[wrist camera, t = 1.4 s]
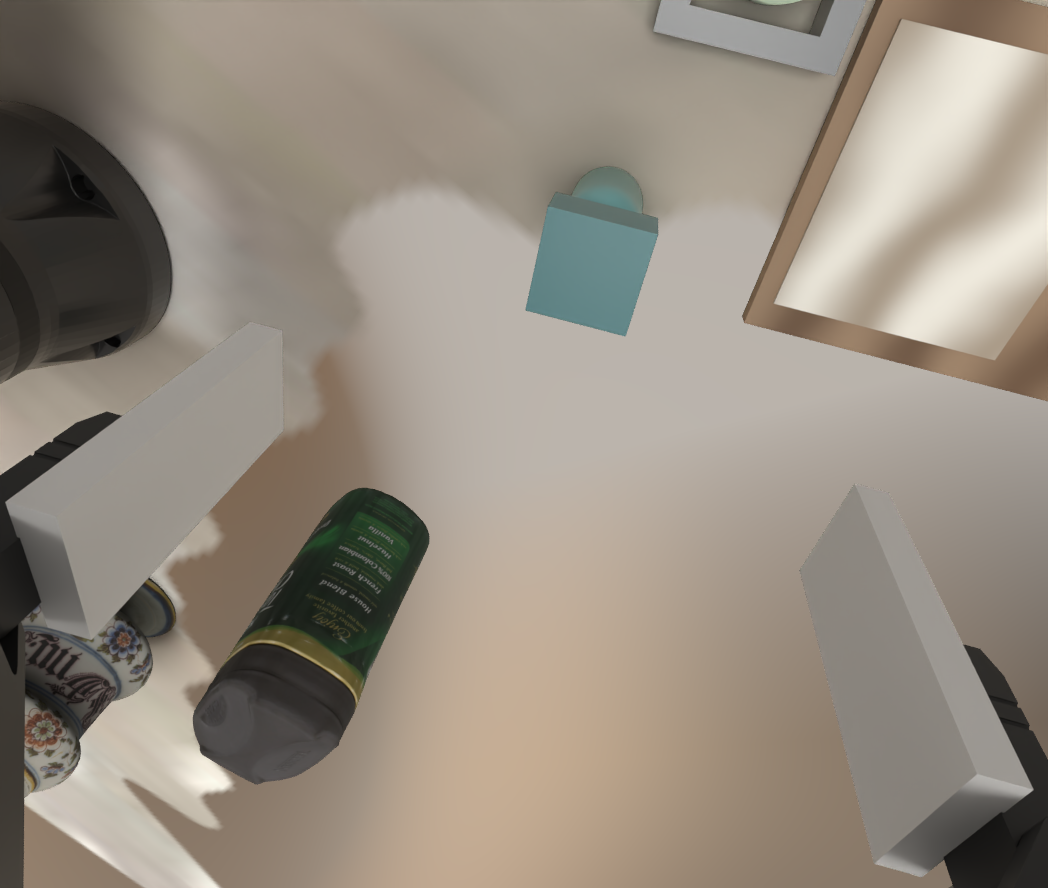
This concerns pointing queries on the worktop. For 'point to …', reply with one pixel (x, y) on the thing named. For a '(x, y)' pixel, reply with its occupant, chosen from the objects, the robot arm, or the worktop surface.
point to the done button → (774, 2)
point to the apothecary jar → (83, 680)
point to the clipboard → (927, 199)
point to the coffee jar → (312, 642)
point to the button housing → (767, 33)
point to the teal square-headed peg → (594, 252)
